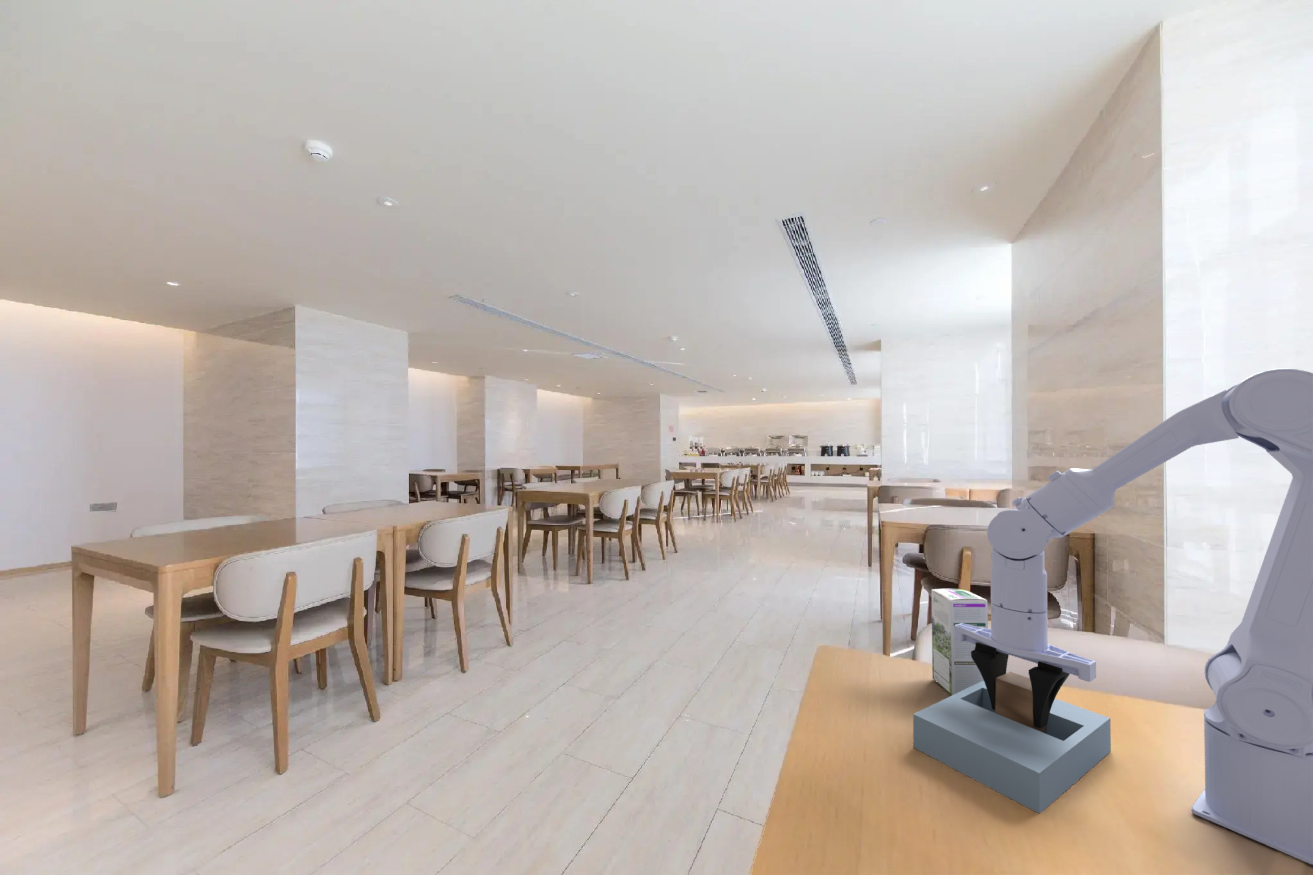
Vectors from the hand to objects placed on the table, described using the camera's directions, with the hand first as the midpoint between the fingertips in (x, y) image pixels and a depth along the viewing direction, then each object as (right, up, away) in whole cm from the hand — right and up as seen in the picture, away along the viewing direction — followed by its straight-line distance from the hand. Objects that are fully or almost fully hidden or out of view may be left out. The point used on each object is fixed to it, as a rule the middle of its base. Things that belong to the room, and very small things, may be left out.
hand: (1019, 716), depth 62 cm
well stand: (-2, -3, -1) cm, 4 cm away
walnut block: (0, -2, 0) cm, 2 cm away
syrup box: (+1, -4, +14) cm, 15 cm away
